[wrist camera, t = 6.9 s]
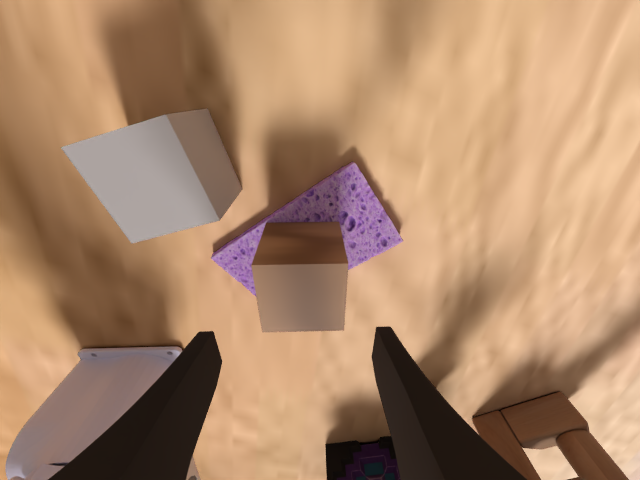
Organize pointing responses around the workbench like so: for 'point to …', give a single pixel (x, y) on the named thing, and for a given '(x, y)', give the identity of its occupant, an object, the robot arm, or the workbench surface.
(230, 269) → the sponges
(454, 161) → the workbench surface
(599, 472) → the wooden block
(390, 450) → the energy cube
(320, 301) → the brown boxy piece
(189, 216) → the grey block
